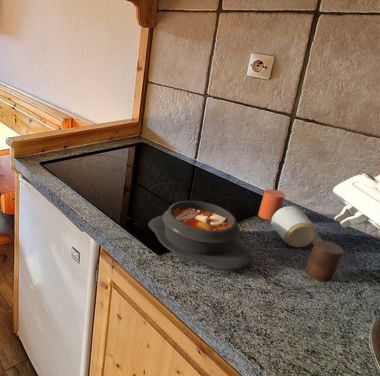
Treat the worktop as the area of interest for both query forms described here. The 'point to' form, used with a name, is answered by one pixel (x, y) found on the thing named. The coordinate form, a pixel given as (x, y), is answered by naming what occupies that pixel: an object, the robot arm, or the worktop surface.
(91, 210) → the worktop surface
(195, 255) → the casserole
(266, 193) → the terracotta post
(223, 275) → the worktop surface
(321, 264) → the walnut post
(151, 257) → the worktop surface
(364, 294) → the worktop surface
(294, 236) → the ceramic mug
